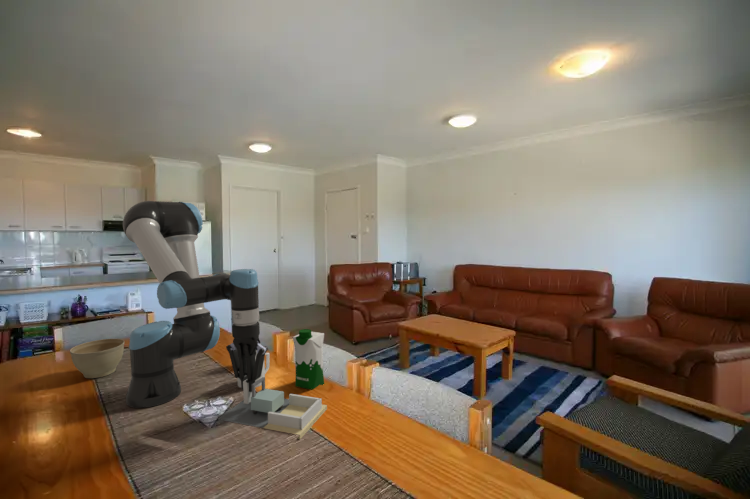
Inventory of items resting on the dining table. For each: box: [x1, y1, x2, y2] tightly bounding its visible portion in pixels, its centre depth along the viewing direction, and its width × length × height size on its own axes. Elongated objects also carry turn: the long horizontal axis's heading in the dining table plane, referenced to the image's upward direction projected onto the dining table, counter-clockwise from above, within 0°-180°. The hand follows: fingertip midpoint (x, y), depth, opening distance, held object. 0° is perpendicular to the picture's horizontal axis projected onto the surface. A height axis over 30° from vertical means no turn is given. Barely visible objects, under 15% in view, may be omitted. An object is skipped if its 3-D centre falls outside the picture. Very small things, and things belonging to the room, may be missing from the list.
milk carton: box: [292, 328, 325, 391], centre depth 123 cm, size 9×9×20 cm
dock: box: [217, 393, 328, 440], centre depth 104 cm, size 26×16×4 cm, turn 72°
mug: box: [236, 350, 270, 389], centre depth 125 cm, size 12×9×11 cm
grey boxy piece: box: [251, 376, 285, 414], centre depth 105 cm, size 7×6×9 cm
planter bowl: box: [69, 338, 125, 379], centre depth 135 cm, size 16×16×11 cm
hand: (248, 401), depth 107 cm, fingers closed
